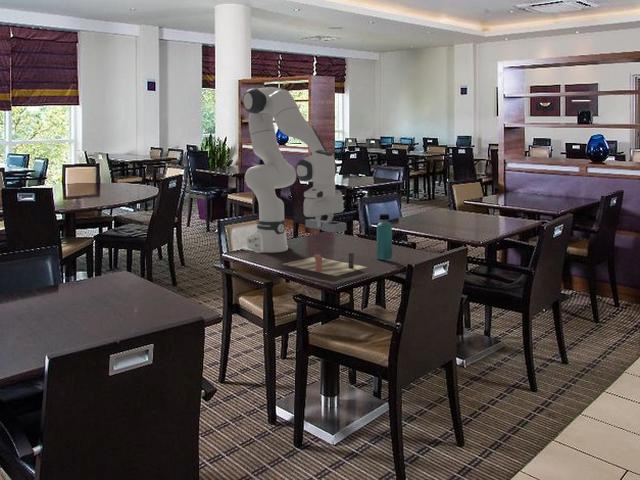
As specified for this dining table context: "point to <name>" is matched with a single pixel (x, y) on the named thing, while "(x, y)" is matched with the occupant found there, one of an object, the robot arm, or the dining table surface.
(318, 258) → the keeper
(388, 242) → the beverage bottle
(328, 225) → the link
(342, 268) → the base board
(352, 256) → the pintle
